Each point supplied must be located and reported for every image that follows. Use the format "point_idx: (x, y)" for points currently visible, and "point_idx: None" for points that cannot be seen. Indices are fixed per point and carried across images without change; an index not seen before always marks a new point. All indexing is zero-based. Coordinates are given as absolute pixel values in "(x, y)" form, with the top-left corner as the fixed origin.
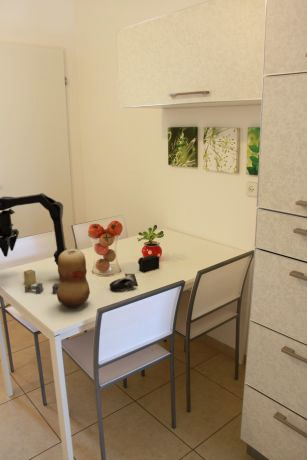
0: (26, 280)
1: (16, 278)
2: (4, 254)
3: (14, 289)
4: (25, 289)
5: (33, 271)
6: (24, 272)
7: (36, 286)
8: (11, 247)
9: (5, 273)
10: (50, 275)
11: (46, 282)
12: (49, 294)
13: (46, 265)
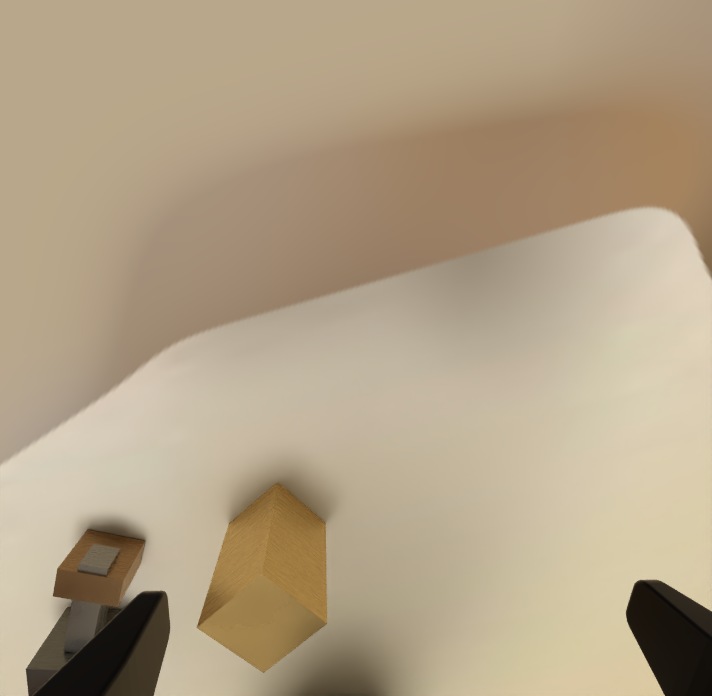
0: (246, 531)
1: (413, 380)
2: (87, 669)
3: (151, 433)
4: (71, 556)
5: (257, 660)
6: (248, 580)
7: (29, 677)
8: (706, 691)
9: (574, 234)
10: (432, 617)
11: None
12: None
13: (668, 544)
